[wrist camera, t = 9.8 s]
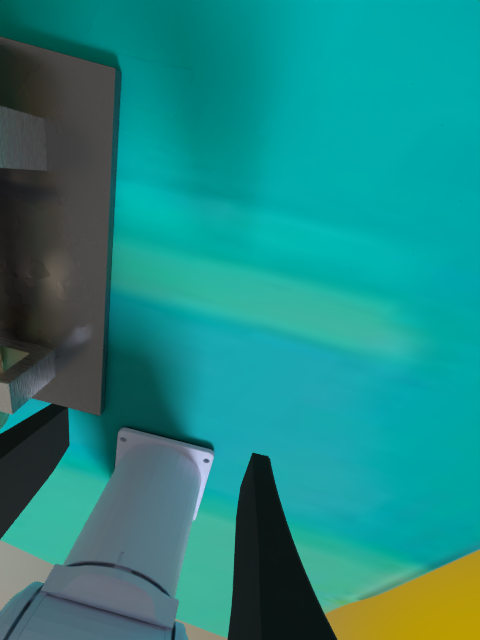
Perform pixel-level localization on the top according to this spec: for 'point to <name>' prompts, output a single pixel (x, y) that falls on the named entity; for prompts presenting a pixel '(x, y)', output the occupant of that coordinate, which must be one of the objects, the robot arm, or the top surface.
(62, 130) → the plate
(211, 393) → the top surface
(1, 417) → the tube
